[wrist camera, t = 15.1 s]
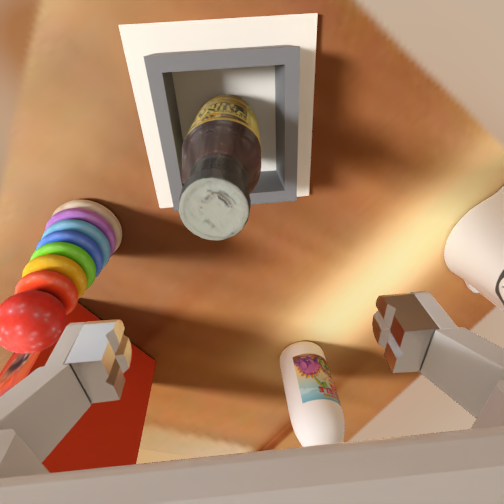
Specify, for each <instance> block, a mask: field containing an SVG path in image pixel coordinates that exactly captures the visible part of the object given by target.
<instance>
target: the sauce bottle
mask: <svg viewBox="0 0 504 504" xmlns="http://www.w3.org/2000/svg"><path fill="white" fill-rule="evenodd" d="M261 158H262V152H261V143H260V135H259V129H258V123H257V118H256V115H255V113H254V111H253V109H252V108H251V106H250V105H249V104H248V103H247V102H246V101H244V100H243V99H242V98H241V97H238V96H235V95H228V94H224V95H217V96H215V97H213V98H211V99H209V100H208V101H207V102H205V103H204V104H203V106H202V107H201V109H200V110H199V112H198V114H197V116H196V118H195V120H194V122H193V124H192V126H191V128H190V130H189V132H188V134H187V136H186V138H185V140H184V142H183V146H182V182H183V183H184V186H183V187H182V190H181V194H180V198H179V205H178V208H179V213H180V218H181V220H182V222H183V224H184V225H185V226H186V228H187V229H188V230H190V231H191V232H192V233H193V234H195V235H197V236H199V237H201V238H204V239H207V240H224V239H227V238H229V237H232V236H234V235H236V234H238V233H239V232H240V231H241V230H242V229H243V228H244V226H245V224H246V222H247V221H248V217H249V212H250V205H251V200H250V195H249V194H250V193H251V192H252V191H253V189H254V188H255V186H256V185H257V183H258V181H259V177H260V173H261Z"/></svg>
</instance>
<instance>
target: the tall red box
mask: <svg viewBox="0 0 504 504" xmlns="http://www.w3.org/2000/svg"><path fill="white" fill-rule="evenodd" d="M66 316H67V321H66V326H67V325H69V324H70V323H78V322H87V321H102V320H100V319H99V318H98V317H96V316H95V315H94V314H92V313H91V312H90V311H88V310H87V309H86V308H84V307H83V306H82V305H80V304H79V303H78V302H77V305H76V307H75V308H74V309H73V310H72V311H71V312H70V313H69V314H67V315H66ZM66 326H65V328H66ZM60 337H61V336H60ZM59 339H60V338H59ZM59 339H58V340H57V341H56V342H55V343H54V344H53V345H51V346H50V347H48V348H47V349H45V350H42V351H40V352H36V353H30V354H20V353H15V352H14V353H13V354H12V356H11V357H10V359H9V360H8V362H7V363H6V365H5V366H4V368H3V370H2V371H1V373H0V397H1V396H2V395H4V394H5V393H6V392H7V391H9V390H10V389H11V388H13V387H14V386H15V385H17V384H18V383H19V382H20V381H22V380H23V379H24V378H26V377H27V376H28V375H30V374H31V373H32V372H33V371H35V370H36V369H37V368H39V367H44V366H45V364H46V363H47V361H48V359H49V357H50V355H51V353H52V352H53V350H54V348H55V346H56V344H57V342H58V341H59ZM130 343H131V342H130ZM131 349H132V354H131V362H130V366H129V368H128V369H127V370H126V371H125V372H124V373H123V375H124V378H125V384H124V387H123V391H122V394H121V398H120V400H115V401H107V402H99V403H91V406H90V407H89V408H88V410H87V411H86V412H85V413H84V414H83V415H82V417H81V418H80V419H79V420H78V421H77V422H76V424H75V425H74V426H73V427H72V428H71V429H70V431H69V432H68V433H67V434H66V435H65V436H64V438H63V439H62V440H61V441H60V442H59V443H58V445H57V446H56V447H55V448H54V449H53V450H52V451H51V453H50V454H49V455H48V456H47V457H46V458H45V460H44V461H43V462H42V464H43V465H44V466H45V467H46V468H47V470H48V471H49V472H50V473H56V472H65V471H75V470H85V469H94V468H104V467H114V466H123V465H133V464H136V461H137V456H138V451H139V446H140V441H141V436H142V431H143V426H144V421H145V416H146V411H147V406H148V401H149V396H150V391H151V386H152V381H153V376H154V371H155V366H156V361H155V360H153V359H152V358H151V357H149V356H148V355H147V354H145V353H144V352H143V351H141V350H140V349H139V348H137V347H136V346H135V345H133V344H132V343H131Z"/></svg>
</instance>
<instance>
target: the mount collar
mask: <svg viewBox="0 0 504 504" xmlns="http://www.w3.org/2000/svg"><path fill="white" fill-rule="evenodd" d="M317 16H318V13H312V14H295V15H278V16H261V17H245V18H228V19H211V20H194V21H178V22H161V23H144V24H127V25H119V30H120V34H121V39H122V43H123V47H124V52H125V56H126V61H127V65H128V70H129V74H130V78H131V83H132V87H133V92H134V96H135V101H136V105H137V109H138V114H139V118H140V123H141V127H142V132H143V136H144V140H145V145H146V149H147V154H148V158H149V163H150V167H151V171H152V176H153V180H154V185H155V189H156V194H157V198H158V202H159V207H160V208H167V207H174V211H179V208H178V205H179V198H180V194H181V190H182V187H183V186H184V183H183V182H182V146H183V142H184V140H185V138H186V136H187V134H188V132H189V130H190V128H191V126H192V124H193V122H194V120H195V118H196V116H197V114H198V112H199V110H200V109H201V107H202V106H203V104H204V103H205V102H207V101H208V100H209V99H211V98H213V97H215V96H217V95H224V94H228V95H235V96H238V97H241V98H242V99H243V100H244V101H246V102H247V103H248V104H249V105H250V106H251V108H252V109H253V111H254V113H255V115H256V118H257V123H258V129H259V135H260V143H261V152H262V158H261V173H260V177H259V181H258V183H257V185H256V186H255V188H254V189H253V191H252V192H251V193H250V194H249V195H250V200H251V204H263V203H275V202H287V201H296V200H297V197H299V196H309V188H310V166H311V145H312V123H313V102H314V81H315V59H316V38H317Z"/></svg>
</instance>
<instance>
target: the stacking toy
mask: <svg viewBox="0 0 504 504" xmlns="http://www.w3.org/2000/svg"><path fill="white" fill-rule="evenodd" d="M121 241H122V228H121V225H120V223H119V221H118V219H117V218H116V216H115V215H114V214H113V213H112V212H111V211H110V210H109V209H107V208H106V207H104V206H103V205H101V204H99V203H96V202H93V201H89V200H72V201H69V202H66V203H64V204H62V205H61V206H59V207H58V208H57V209H56V210H55V212H54V213H53V215H52V217H51V218H50V219H49V221H48V222H47V224H46V227H45V232H44V234H43V236H42V239H41V240H40V241H39V243H38V245H37V247H36V251H35V252H34V253H33V255H32V257H31V259H30V261H29V262H28V264H27V265H26V266H25V268H24V270H23V273H22V278H21V279H20V280H19V282H18V283H17V285H16V288H15V295H13V296H11V297H9V298H8V299H6V300H5V301H4V302H3V303H2V304H1V305H0V345H1V346H3V347H4V348H5V349H7V350H9V351H12V352H15V353H20V354H30V353H36V352H40V351H42V350H45V349H47V348H48V347H50V346H51V345H53V344H54V343H55V342H56V341H57V340H58V339H59V338H60V336H61V335H62V333H63V331H64V329H65V326H66V321H67V316H66V315H67V314H69V313H70V312H71V311H72V310H73V309H74V308H75V307H76V305H77V302H78V299H79V298H80V297H81V296H82V295H83V294H84V292H85V290H86V289H87V288H89V287H90V286H91V284H92V283H93V281H94V279H95V278H96V277H97V276H98V275H99V273H100V272H101V270H102V269H103V268H104V267H105V266H106V264H107V263H108V261H109V258H110V257H111V255H112V254H113V253H114V252H115V251H116V250H117V249H118V247H119V246H120V243H121Z"/></svg>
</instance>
